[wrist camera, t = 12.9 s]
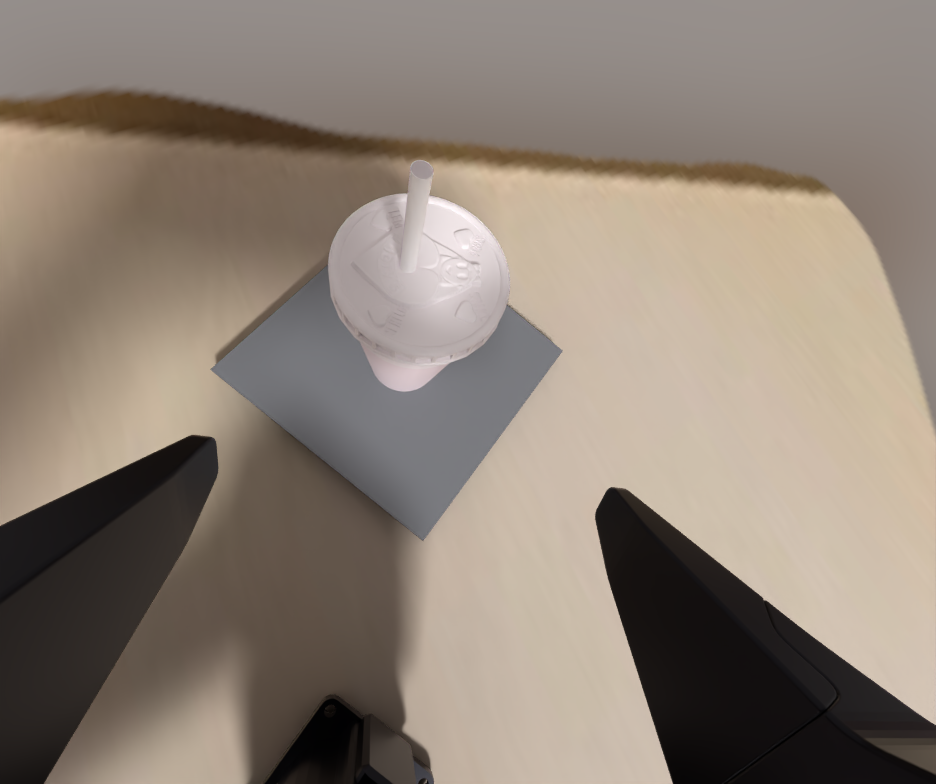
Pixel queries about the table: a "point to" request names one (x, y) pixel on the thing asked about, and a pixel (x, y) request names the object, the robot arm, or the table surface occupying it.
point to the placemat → (386, 402)
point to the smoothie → (417, 282)
